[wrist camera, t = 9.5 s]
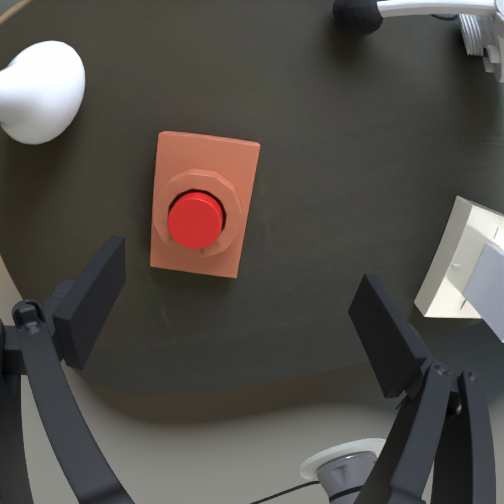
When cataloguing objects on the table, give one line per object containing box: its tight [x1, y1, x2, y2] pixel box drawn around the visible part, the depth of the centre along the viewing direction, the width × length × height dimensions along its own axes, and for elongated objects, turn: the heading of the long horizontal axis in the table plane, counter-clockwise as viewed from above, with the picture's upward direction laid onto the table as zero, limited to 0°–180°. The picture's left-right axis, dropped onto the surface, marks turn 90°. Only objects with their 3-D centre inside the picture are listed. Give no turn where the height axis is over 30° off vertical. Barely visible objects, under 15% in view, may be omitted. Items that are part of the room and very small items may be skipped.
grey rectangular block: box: [462, 243, 504, 342], centre depth 24 cm, size 7×3×9 cm, turn 170°
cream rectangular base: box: [414, 196, 504, 318], centre depth 29 cm, size 14×12×3 cm
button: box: [168, 192, 223, 249], centre depth 22 cm, size 4×4×2 cm
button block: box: [151, 131, 260, 278], centre depth 25 cm, size 12×8×4 cm, turn 170°
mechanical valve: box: [333, 0, 504, 82], centre depth 17 cm, size 10×18×15 cm
